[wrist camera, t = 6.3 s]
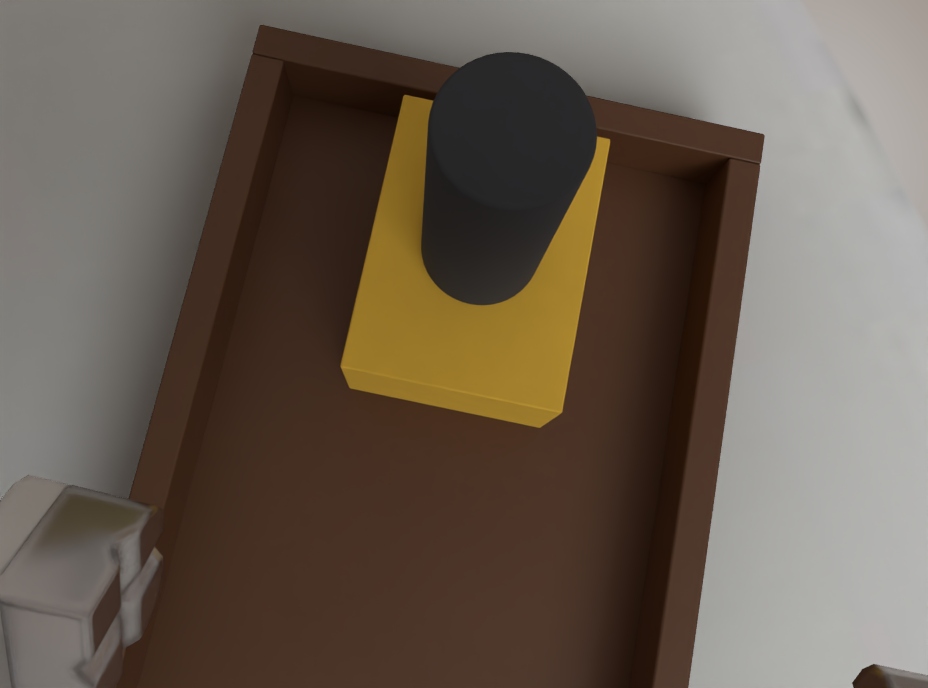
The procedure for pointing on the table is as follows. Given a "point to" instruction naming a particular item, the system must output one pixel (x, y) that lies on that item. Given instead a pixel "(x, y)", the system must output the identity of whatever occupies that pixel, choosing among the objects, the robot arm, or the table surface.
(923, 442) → the table surface
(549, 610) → the tray
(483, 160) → the yellow block with peg
